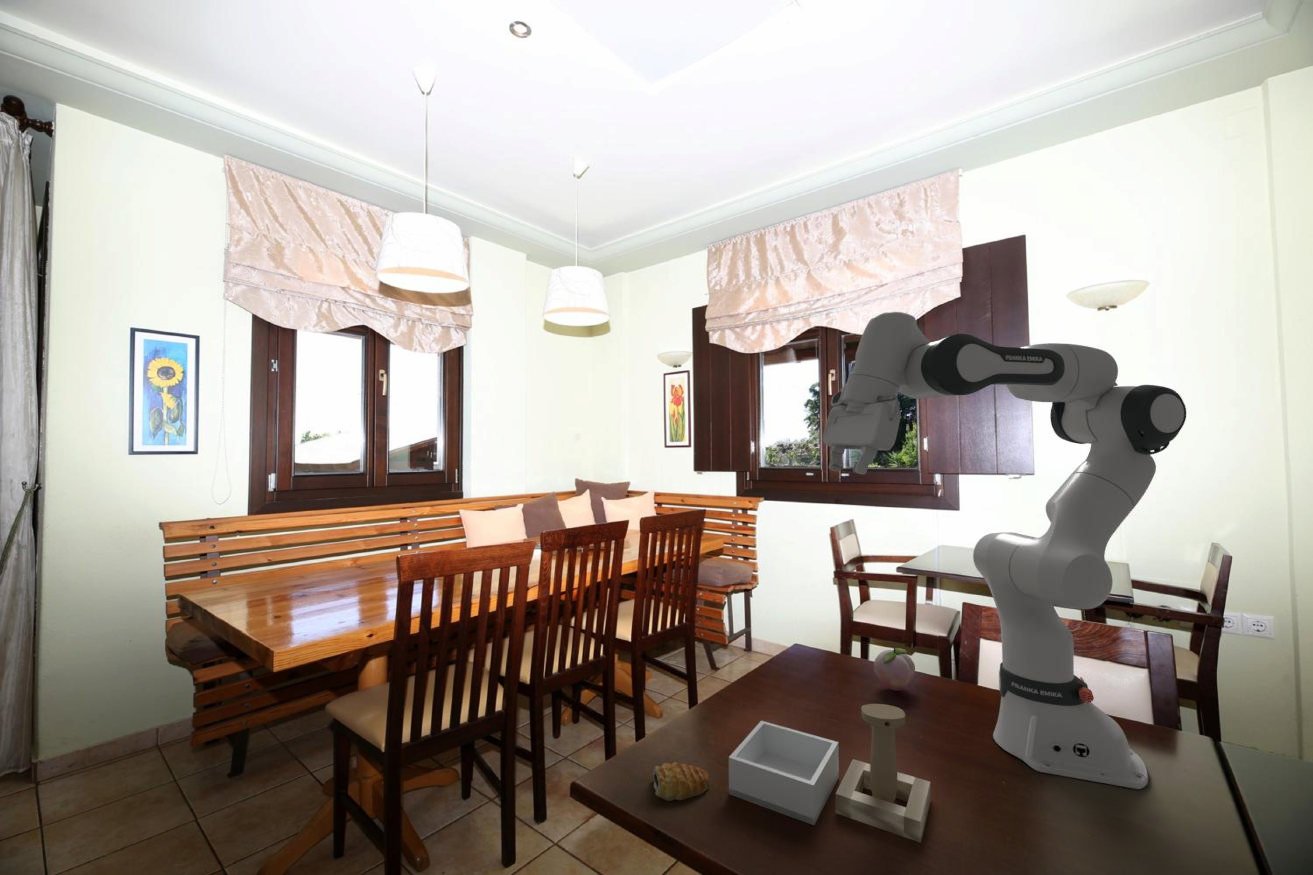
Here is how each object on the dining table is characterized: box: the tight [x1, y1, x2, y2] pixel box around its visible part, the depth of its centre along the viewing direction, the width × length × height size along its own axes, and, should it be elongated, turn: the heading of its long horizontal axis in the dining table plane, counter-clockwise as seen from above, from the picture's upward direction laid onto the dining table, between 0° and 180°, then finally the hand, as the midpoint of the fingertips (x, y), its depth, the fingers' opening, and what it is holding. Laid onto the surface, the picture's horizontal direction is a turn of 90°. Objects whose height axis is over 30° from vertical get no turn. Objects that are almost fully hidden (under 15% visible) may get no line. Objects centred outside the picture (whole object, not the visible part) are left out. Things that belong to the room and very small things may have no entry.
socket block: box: [835, 758, 932, 844], centre depth 88 cm, size 12×11×3 cm
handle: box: [860, 703, 906, 804], centre depth 88 cm, size 5×6×15 cm
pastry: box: [652, 761, 711, 802], centre depth 93 cm, size 9×7×4 cm
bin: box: [728, 720, 840, 826], centre depth 93 cm, size 14×14×6 cm
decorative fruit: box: [873, 646, 916, 692], centre depth 128 cm, size 9×8×10 cm
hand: (845, 471), depth 99 cm, fingers open, 8 cm apart
